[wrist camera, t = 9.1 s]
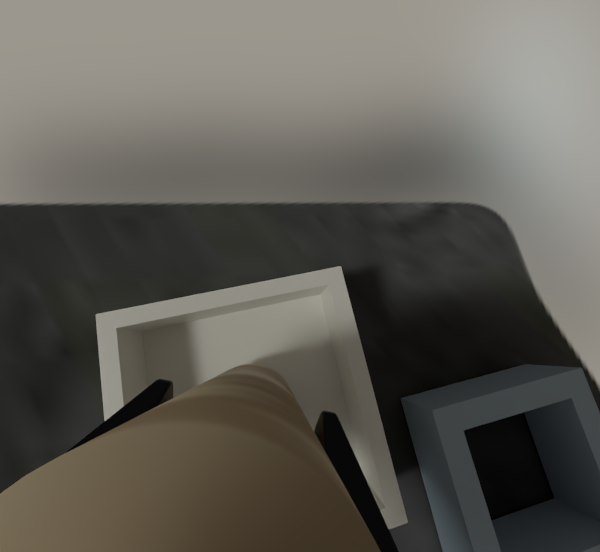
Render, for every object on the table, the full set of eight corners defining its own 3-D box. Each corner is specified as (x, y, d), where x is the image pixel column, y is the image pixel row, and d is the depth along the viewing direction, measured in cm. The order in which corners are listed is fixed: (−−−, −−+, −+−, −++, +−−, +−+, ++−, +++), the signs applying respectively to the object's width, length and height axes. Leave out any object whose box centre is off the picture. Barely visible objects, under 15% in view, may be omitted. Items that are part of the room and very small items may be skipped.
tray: (378, 486, 16) (407, 522, 13) (155, 557, 15) (121, 620, 11) (327, 280, 19) (340, 265, 15) (129, 321, 17) (95, 314, 14)
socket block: (580, 515, 17) (657, 556, 14) (446, 564, 16) (495, 623, 12) (525, 364, 19) (581, 367, 15) (400, 398, 18) (431, 410, 14)
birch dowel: (312, 413, 15) (531, 732, 3) (242, 482, 14) (27, 1567, 2) (256, 345, 16) (207, 326, 3) (184, 406, 15) (-329, 755, 2)
